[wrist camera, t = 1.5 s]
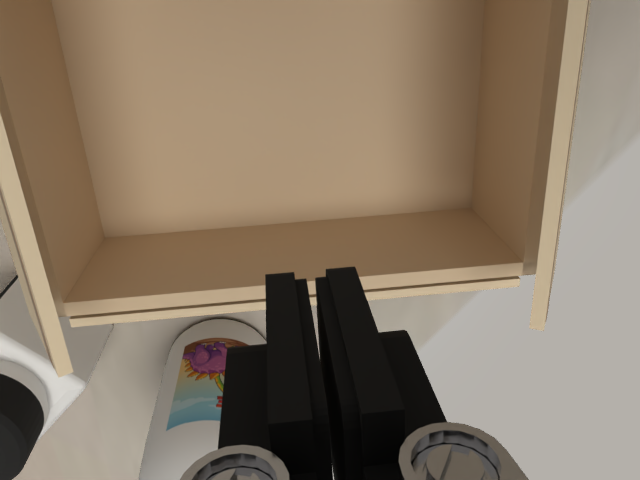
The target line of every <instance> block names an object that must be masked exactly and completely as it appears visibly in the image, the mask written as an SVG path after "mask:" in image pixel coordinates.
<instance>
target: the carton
mask: <svg viewBox="0 0 640 480" xmlns="http://www.w3.org/2000/svg"><path fill="white" fill-rule="evenodd" d="M568 2H569V0H0V113H1V117H2V120H3V124H4V127H5V131H6V135H7V138H8V142H9V145H10V149H11V152H12V156H13V159H14V163H15V166H16V170H17V173H18V177H19V181H20V184H21V188H22V191H23V195H24V198H25V202H26V205H27V209H28V212H29V216H30V220H31V223H32V227H33V230H34V234H35V237H36V241H37V244H38V248H39V251H40V255H41V259H42V262H43V266H44V269H45V273H46V276H47V280H48V283H49V287H50V290H51V294H52V297H53V301H54V305H55V308H56V312H57V315H58V317H66V316H71V317H70V319H69V321H70V324H71V327H81V326H92V325H103V324H114V323H125V322H136V321H147V320H158V319H169V318H180V317H191V316H202V315H213V314H224V313H235V312H246V311H257V310H266V290H265V274H276V273H287V272H294V274H295V279H305V278H306V279H307V285H308V291H309V298H310V304H311V305H317V302H316V285H315V278H316V277H326V269H332V268H343V267H354V266H355V268H356V270H357V273H358V276H359V278H360V281H361V284H362V287H363V290H364V293H365V296H366V298H367V300H377V299H388V298H399V297H410V296H421V295H432V294H443V293H454V292H465V291H476V290H486V289H498V288H509V287H519V285H520V278H519V277H518V276H522V275H533V274H536V269H537V261H538V252H539V244H540V236H541V227H542V219H543V211H544V202H545V194H546V186H547V177H548V169H549V161H550V152H551V144H552V136H553V127H554V119H555V111H556V102H557V94H558V86H559V77H560V69H561V61H562V52H563V44H564V35H565V27H566V19H567V10H568Z"/></svg>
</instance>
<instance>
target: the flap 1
mask: <svg viewBox="0 0 640 480" xmlns="http://www.w3.org/2000/svg"><path fill="white" fill-rule="evenodd" d="M0 219H1V222H2V225H3V229H4V232H5V235H6V239H7V242H8V245H9V248H10V252H11V255H12V258H13V261H14V265H15V268H16V271H17V275H18V278H19V281H20V284H21V288H22V291H23V294H24V297H25V301H26V304H27V307H28V311H29V314H30V316H31V318H32V320H33V323H34V325H35V327H36V329H37V331H38V334H39V336H40V338H41V340H42V342H43V345H44V347H45V349H46V351H47V353H48V356H49V359H50V361H51V363H52V366H53V368H54V369H55V371H56V373H57V375H58V378H59V377H62V376H64V375H67V374H70V373H72V372H73V368H72V365H71V361H70V358H69V354H68V351H67V347H66V344H65V340H64V336H63V333H62V329H61V326H60V322H59V319H58V315H57V312H56V308H55V305H54V301H53V297H52V294H51V290H50V287H49V283H48V280H47V276H46V273H45V269H44V266H43V262H42V259H41V255H40V251H39V248H38V244H37V241H36V237H35V234H34V230H33V227H32V223H31V220H30V216H29V212H28V209H27V205H26V202H25V198H24V195H23V191H22V188H21V184H20V181H19V177H18V173H17V170H16V166H15V163H14V159H13V156H12V152H11V149H10V145H9V142H8V138H7V135H6V131H5V127H4V124H3V120H2V117H1V113H0Z"/></svg>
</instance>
